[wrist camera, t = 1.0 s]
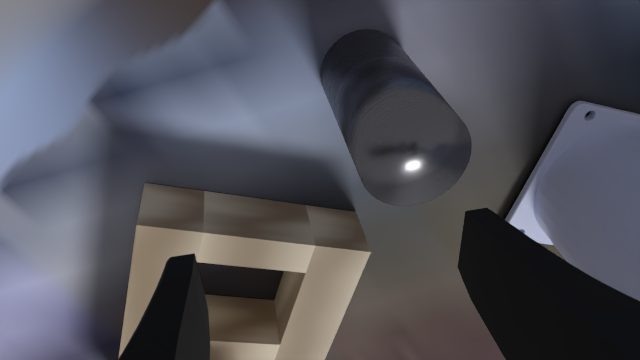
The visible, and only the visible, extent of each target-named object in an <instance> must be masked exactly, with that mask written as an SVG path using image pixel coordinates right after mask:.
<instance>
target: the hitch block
mask: <svg viewBox="0 0 640 360" xmlns="http://www.w3.org/2000/svg"><path fill="white" fill-rule="evenodd" d="M194 253H195V257H196V261H197V262H201V263H211V264H221V265H231V266H241V267H251V268H261V269H271V270H281V271H284V272H283V275H282V278H281V281H280V285H279V288H278V291H277V294H276V297H275V300H266V299H254V298H242V297H230V296H218V295H206V294H205V298H206V302H207V306H208V314H209V330H210V360H325V358H326V356H327V353H328V351H329V349H330V346H331V344H332V342H333V339H334V337H335V335H336V332H337V330H338V328H339V325H340V323H341V321H342V318H343V316H344V314H345V311H346V309H347V307H348V304H349V302H350V300H351V297H352V295H353V293H354V290H355V288H356V286H357V283H358V281H359V279H360V276H361V274H362V272H363V269H364V267H365V265H366V262H367V260H368V258H369V255H370V253H371V251H370V249H369V246H368V243H367V240H366V238H365V235H364V232H363V229H362V227H361V224H360V221H359V219H358V216H357V213H356V212H353V211H345V210H338V209H331V208H324V207H317V206H309V205H302V204H295V203H288V202H280V201H273V200H266V199H259V198H251V197H244V196H237V195H230V194H223V193H215V192H208V191H201V190H194V189H186V188H179V187H172V186H165V185H157V184H150V183H144V188H143V194H142V199H141V204H140V209H139V215H138V220H137V225H136V232H135V240H134V247H133V255H132V262H131V269H130V277H129V284H128V292H127V299H126V306H125V314H124V321H123V328H122V336H121V343H120V351H119V357H120V356H121V354H122V352H123V351H124V349H125V347H126V345H127V344H128V342H129V340H130V339H131V337H132V335H133V333H134V332H135V330H136V328H137V326H138V324H139V322H140V320H141V318H142V316H143V314H144V312H145V310H146V308H147V306H148V304H149V302H150V300H151V298H152V296H153V294H154V292H155V289H156V287H157V285H158V282H159V280H160V278H161V275H162V273H163V270H164V267H165V264H166V262H167V260H168V259H169V258H170V257H174V256H181V255H187V254H194ZM118 359H119V358H118Z"/></svg>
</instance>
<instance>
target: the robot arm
mask: <svg viewBox="0 0 640 360" xmlns="http://www.w3.org/2000/svg"><path fill="white" fill-rule="evenodd" d="M589 111H590V113H589V114H588V116H586V117H585V115H586V114H587V112H589ZM539 243H542V244H550V245H555V247H556V248H557V249H558V250H559V252H560V253H561V254H562V255H563V257H564V258H565V259H566V260H567V262H566V261H565V260H563V259H562V258H560V257H558V256H557V255H555V254H554V253H552V252H551V251H549V250H548V249H546V248H545V247H543V246H542V245H540V244H539ZM458 269H459V271H460V274H461V276H462V279H463V281H464V284H465V286H466V289H467V291H468V293H469V296H470V298H471V300H472V302H473V304H474V305H475V307H476V309H477V311H478V313H479V314H480V316H481V318H482V319H483V321H484V323H485V325H486V326H487V328H488V330H489V332H490V333H491V335H492V337H493V338H494V340H495V342H496V343H497V345H498V347H499V349H500V350H501V352H502V354H503V355H504V357H505V359H506V360H640V114H637V113H633V112H628V111H624V110H620V109H615V108H611V107H607V106H603V105H598V104H594V103H590V102H585V101H577V102H575V103H573V104H572V105H571V106H570V107H569V108H568V110H567V112H566V113H565V115H564V117H563V119H562V121H561V122H560V124H559V126H558V128H557V129H556V131H555V133H554V135H553V136H552V138H551V140H550V142H549V143H548V145H547V147H546V149H545V150H544V152H543V154H542V156H541V157H540V159H539V161H538V163H537V164H536V166H535V168H534V170H533V171H532V173H531V175H530V177H529V178H528V180H527V182H526V184H525V185H524V187H523V189H522V191H521V192H520V194H519V196H518V198H517V199H516V201H515V203H514V205H513V206H512V208H511V210H510V212H509V213H508V215H507V217H506V219H505V220H504V219H503V218H501V217H500V216H498V215H497V214H496V213H494V212H493V211H491V210H489V209H488V208H483V209H476V210H470V211H465V218H464V226H463V233H462V240H461V247H460V254H459V262H458ZM118 360H210V330H209V314H208V306H207V302H206V298H205V294H204V290H203V286H202V281H201V277H200V273H199V269H198V265H197V261H196V257H195V253H194V254H187V255H181V256H174V257H170V258H169V259H168V260H167V262H166V264H165V267H164V270H163V273H162V275H161V278H160V280H159V282H158V285H157V287H156V289H155V292H154V294H153V296H152V298H151V300H150V302H149V304H148V306H147V308H146V310H145V312H144V314H143V316H142V318H141V320H140V322H139V324H138V326H137V328H136V330H135V332H134V333H133V335H132V337H131V339H130V340H129V342H128V344H127V345H126V347H125V349H124V351H123V352H122V354H121V356H120V357H119V359H118Z"/></svg>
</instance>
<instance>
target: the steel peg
mask: <svg viewBox="0 0 640 360" xmlns="http://www.w3.org/2000/svg"><path fill="white" fill-rule="evenodd" d="M321 81H322V86H323V89H324V91H325V94H326V96H327V98H328V101H329V103H330V106H331V108H332V111H333V113H334V115H335V118H336V120H337V123H338V125H339V128H340V130H341V132H342V135H343V137H344V140H345V142H346V144H347V147H348V149H349V152H350V154H351V157H352V159H353V161H354V164H355V166H356V169H357V171H358V174H359V176H360V178H361V181H362V183H363V185H364V187H365V188H366V189H367V191H368V192H369V193H370V194H371V195H372V196H374V197H375V198H376V199H378V200H380V201H382V202H384V203H387V204H391V205H396V206H411V205H417V204H421V203H425V202H428V201H430V200H432V199H434V198H436V197H438V196H440V195H442V194H443V193H444V192H446V191H447V190H449V189H450V188H451V187H452V186H453V185H454V184H455V183H456V182H457V181H458V180H459V178H460V177H461V175H462V174H463V172H464V171H465V169H466V167H467V164H468V162H469V159H470V155H471V137H470V134H469V131H468V129H467V127H466V125H465V124H464V122H463V121H462V120H461V119H460V117H459V116H458V115H457V114H456V113H455V111H454V110H453V109H452V108H451V107H450V105H449V104H448V103H447V102H446V101H445V99H444V98H443V97H442V96H441V95H440V93H439V92H438V91H437V90H436V89H435V87H434V86H433V85H432V84H431V83H430V81H429V80H428V79H427V78H426V77H425V75H424V74H423V73H422V72H421V71H420V69H419V68H418V67H417V66H416V65H415V64H414V62H413V61H412V60H411V59H410V58H409V56H408V55H407V54H406V53H405V52H404V50H403V49H402V48H401V47H400V46H399V44H398V43H397V42H396V41H395V40H394V39H393V38H392V37H390V36H389V35H387V34H385V33H383V32H380V31H377V30H359V31H355V32H352V33H349V34H347V35H345V36H344V37H342V38H341V39H339V40H338V41H337V42H336V43H335V44H334V45H333V46H332V47H331V48H330V50H329V51H328V52H327V54H326V56H325V58H324V61H323V64H322V68H321Z"/></svg>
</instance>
